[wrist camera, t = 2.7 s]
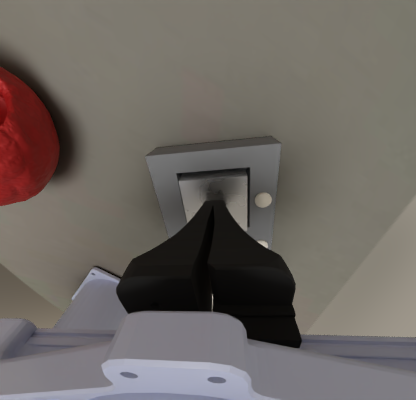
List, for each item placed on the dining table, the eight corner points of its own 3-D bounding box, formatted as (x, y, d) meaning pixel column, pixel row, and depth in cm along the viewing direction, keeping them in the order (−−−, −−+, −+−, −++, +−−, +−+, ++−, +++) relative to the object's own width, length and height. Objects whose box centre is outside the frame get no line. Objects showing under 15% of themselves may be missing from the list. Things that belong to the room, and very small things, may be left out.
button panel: (260, 294, 23) (265, 316, 20) (193, 294, 24) (190, 315, 21) (271, 136, 13) (282, 143, 11) (156, 147, 14) (143, 157, 12)
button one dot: (244, 217, 15) (247, 230, 13) (192, 220, 16) (189, 233, 14) (244, 166, 13) (247, 176, 11) (183, 171, 13) (178, 181, 12)
